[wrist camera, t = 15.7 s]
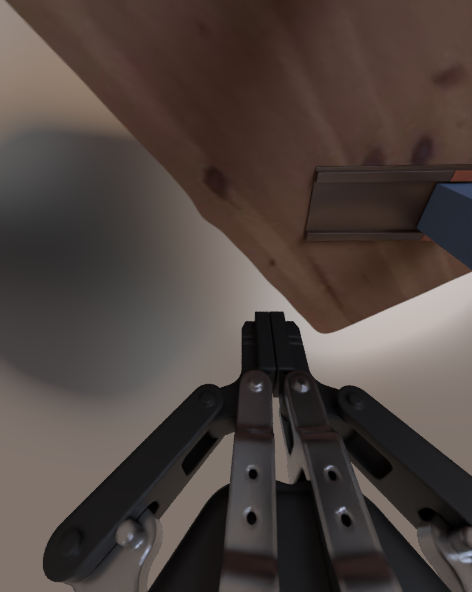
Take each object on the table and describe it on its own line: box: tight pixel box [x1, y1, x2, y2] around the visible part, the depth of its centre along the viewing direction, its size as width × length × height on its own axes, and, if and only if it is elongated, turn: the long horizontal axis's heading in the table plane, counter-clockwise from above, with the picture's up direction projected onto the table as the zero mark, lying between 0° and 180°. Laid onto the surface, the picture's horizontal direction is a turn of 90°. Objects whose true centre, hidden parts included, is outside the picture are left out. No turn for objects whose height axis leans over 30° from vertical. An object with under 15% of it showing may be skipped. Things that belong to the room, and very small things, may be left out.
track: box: [304, 164, 472, 241], centre depth 33 cm, size 10×28×1 cm, turn 91°
